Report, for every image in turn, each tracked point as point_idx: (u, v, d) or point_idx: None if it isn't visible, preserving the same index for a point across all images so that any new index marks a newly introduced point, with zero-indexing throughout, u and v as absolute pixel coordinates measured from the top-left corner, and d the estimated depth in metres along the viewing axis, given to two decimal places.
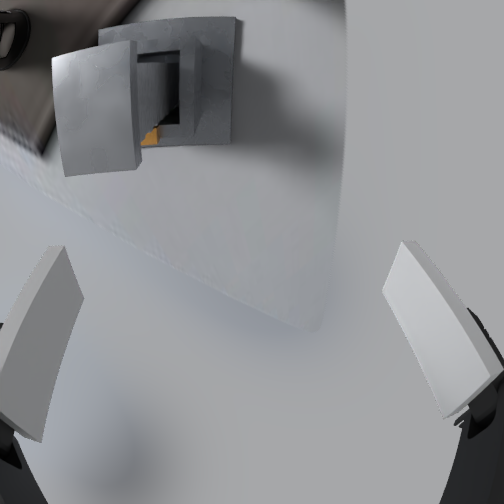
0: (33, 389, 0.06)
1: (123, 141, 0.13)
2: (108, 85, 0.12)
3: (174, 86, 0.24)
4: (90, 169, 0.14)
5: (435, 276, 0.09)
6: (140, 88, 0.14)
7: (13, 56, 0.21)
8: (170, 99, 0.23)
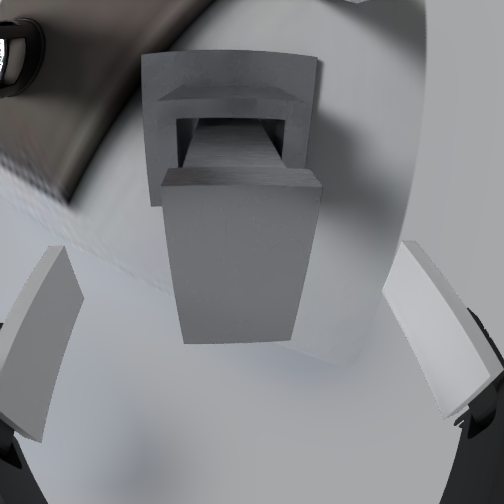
0: (33, 389, 0.06)
1: (282, 316, 0.11)
2: (275, 251, 0.09)
3: None
4: (226, 339, 0.12)
5: (435, 276, 0.09)
6: None
7: (24, 81, 0.19)
8: None
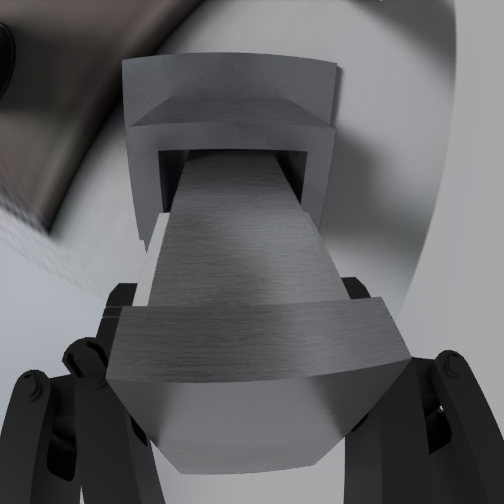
0: None
1: (309, 456, 0.07)
2: (312, 426, 0.05)
3: None
4: (234, 472, 0.08)
5: None
6: None
7: None
8: None
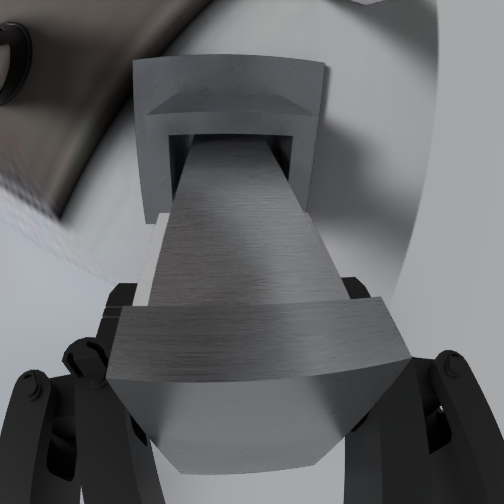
0: None
1: (309, 456, 0.07)
2: (312, 426, 0.05)
3: None
4: (234, 472, 0.08)
5: None
6: None
7: (10, 90, 0.17)
8: None
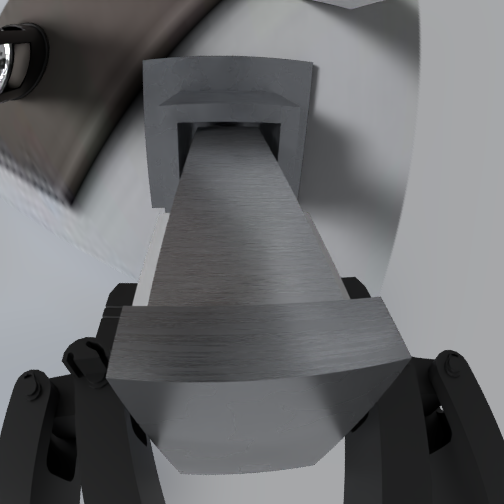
0: None
1: (309, 456, 0.07)
2: (312, 426, 0.05)
3: None
4: (234, 472, 0.08)
5: None
6: None
7: (28, 85, 0.20)
8: None
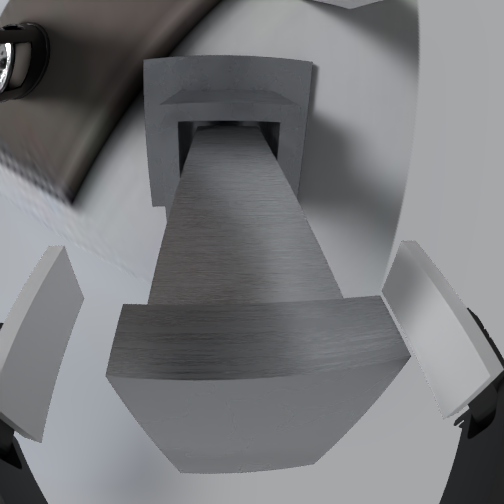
0: (33, 389, 0.06)
1: (308, 455, 0.07)
2: (312, 424, 0.05)
3: None
4: (234, 471, 0.08)
5: (435, 276, 0.09)
6: None
7: (29, 84, 0.20)
8: None
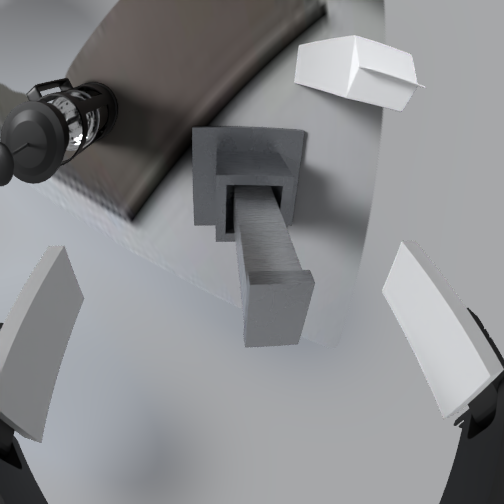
0: (33, 389, 0.06)
1: (295, 332, 0.23)
2: (293, 306, 0.21)
3: None
4: (266, 344, 0.24)
5: (435, 276, 0.09)
6: None
7: (102, 133, 0.36)
8: None
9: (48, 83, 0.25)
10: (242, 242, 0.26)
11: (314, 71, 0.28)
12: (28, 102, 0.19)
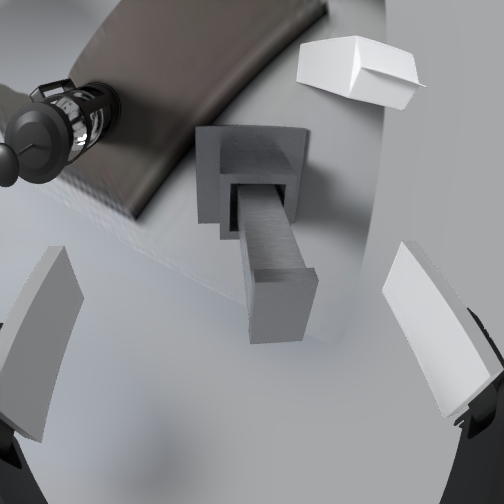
0: (33, 389, 0.06)
1: (299, 329, 0.24)
2: (298, 303, 0.22)
3: None
4: (271, 341, 0.24)
5: (435, 276, 0.09)
6: None
7: (106, 133, 0.37)
8: None
9: (51, 84, 0.25)
10: (247, 240, 0.26)
11: (316, 70, 0.28)
12: (32, 103, 0.20)
